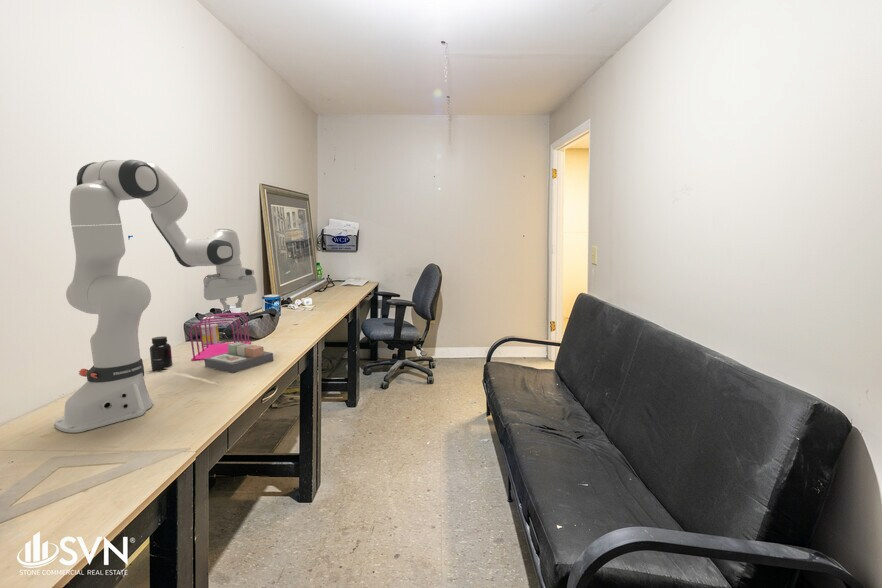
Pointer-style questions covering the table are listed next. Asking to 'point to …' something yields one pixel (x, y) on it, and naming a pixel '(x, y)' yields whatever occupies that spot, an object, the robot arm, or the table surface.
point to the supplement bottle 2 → (213, 333)
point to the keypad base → (236, 362)
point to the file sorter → (212, 348)
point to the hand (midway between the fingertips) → (232, 308)
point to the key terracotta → (254, 351)
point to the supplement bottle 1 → (160, 354)
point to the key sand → (243, 349)
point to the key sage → (234, 347)
